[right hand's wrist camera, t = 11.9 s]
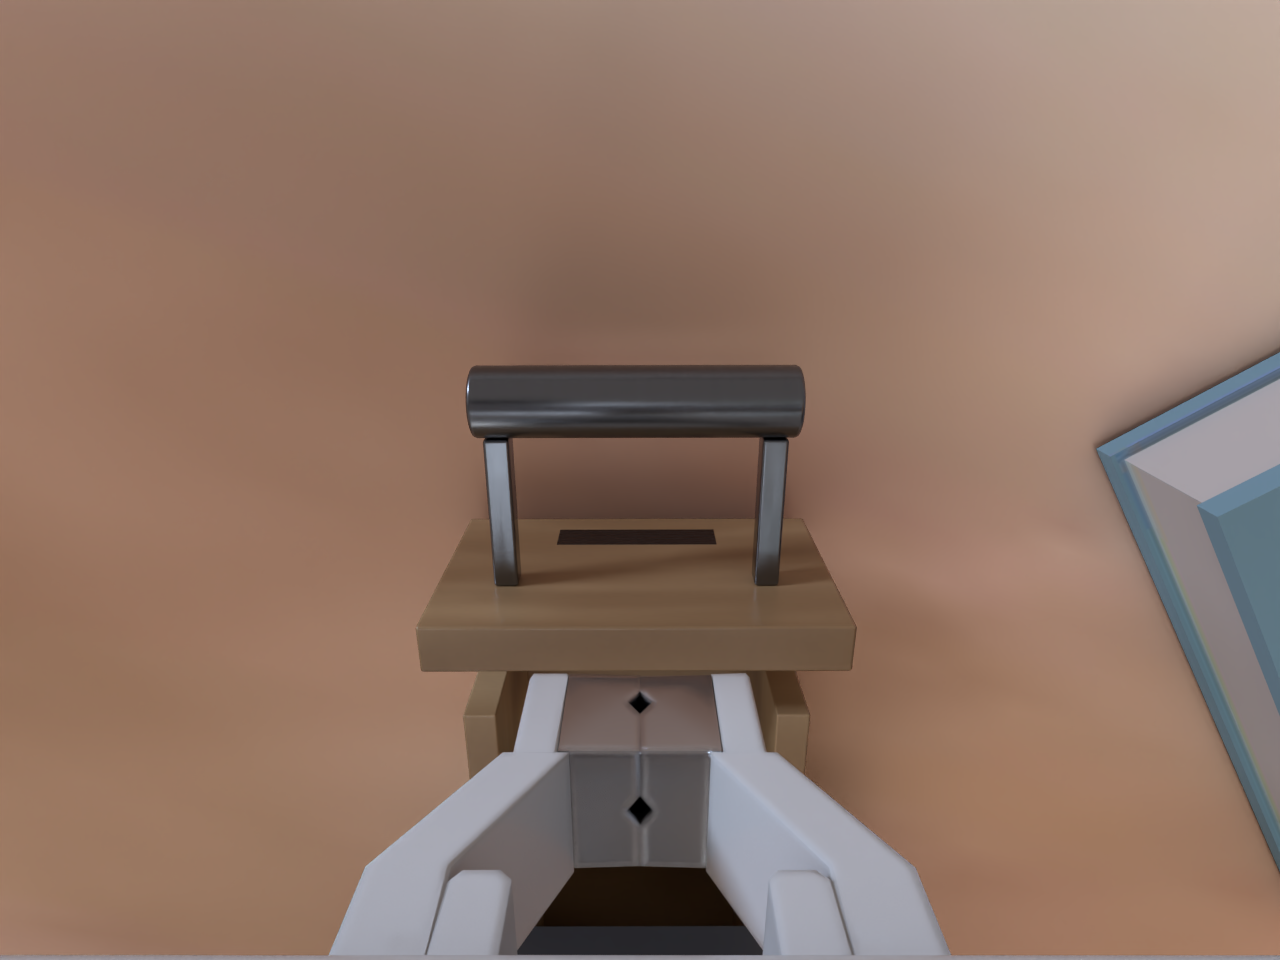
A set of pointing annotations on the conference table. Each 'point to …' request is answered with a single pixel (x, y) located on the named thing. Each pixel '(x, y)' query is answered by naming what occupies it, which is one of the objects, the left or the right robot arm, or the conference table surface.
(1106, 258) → the conference table surface
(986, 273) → the conference table surface
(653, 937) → the dark boxy piece
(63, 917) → the conference table surface
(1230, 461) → the book
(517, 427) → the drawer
